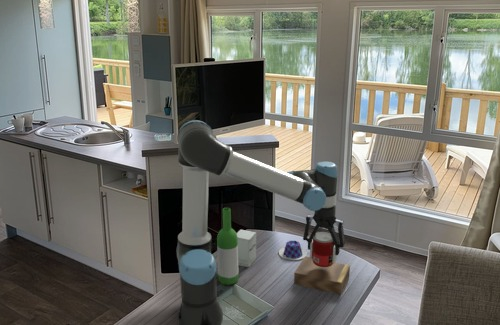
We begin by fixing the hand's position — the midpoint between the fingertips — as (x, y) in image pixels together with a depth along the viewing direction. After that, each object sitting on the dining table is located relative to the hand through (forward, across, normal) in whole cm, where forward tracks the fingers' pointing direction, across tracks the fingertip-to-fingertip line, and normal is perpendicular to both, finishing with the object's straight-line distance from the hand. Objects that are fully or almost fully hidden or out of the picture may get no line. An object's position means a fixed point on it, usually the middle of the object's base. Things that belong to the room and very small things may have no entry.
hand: (323, 259), depth 177 cm
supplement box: (+9, +33, -1) cm, 34 cm away
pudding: (+10, +17, -15) cm, 25 cm away
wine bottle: (+9, +33, +14) cm, 37 cm away
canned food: (+1, 0, 0) cm, 1 cm away
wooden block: (+9, 0, 0) cm, 9 cm away
